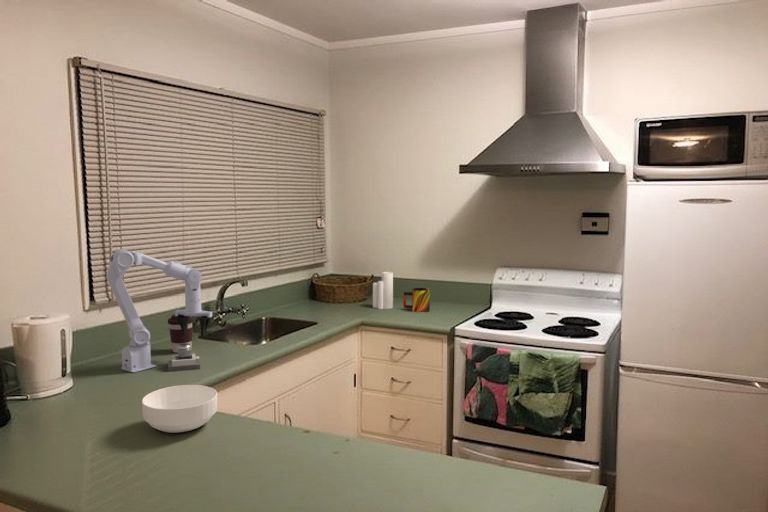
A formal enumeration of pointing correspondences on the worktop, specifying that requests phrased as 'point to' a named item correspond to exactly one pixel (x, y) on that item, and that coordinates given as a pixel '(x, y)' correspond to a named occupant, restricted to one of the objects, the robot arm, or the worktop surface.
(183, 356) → the lens
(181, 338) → the coffee cup
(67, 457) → the worktop surface
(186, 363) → the camera body
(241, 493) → the worktop surface
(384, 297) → the vase
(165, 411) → the bowl
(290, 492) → the worktop surface
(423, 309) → the mug
